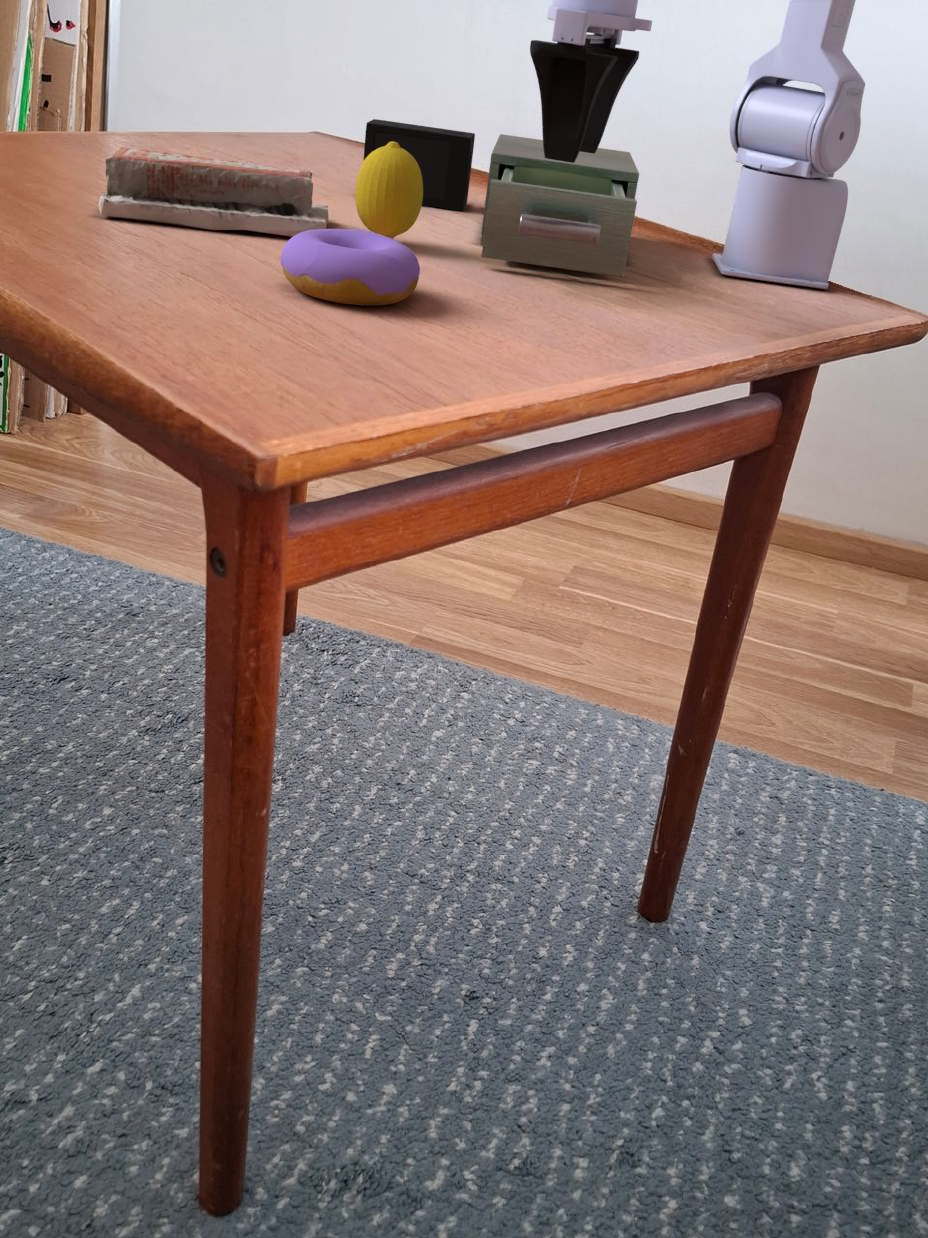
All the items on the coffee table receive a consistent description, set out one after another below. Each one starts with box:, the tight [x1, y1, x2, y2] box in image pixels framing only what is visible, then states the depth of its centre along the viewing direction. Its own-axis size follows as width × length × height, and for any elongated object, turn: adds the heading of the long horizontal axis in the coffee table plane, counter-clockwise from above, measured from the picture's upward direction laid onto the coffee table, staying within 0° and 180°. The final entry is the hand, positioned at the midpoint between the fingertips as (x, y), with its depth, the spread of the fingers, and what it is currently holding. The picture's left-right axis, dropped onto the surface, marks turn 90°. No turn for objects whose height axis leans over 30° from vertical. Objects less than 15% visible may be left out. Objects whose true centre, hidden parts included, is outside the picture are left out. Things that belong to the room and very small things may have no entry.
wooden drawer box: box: [479, 133, 640, 246], centre depth 109 cm, size 16×13×8 cm
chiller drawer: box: [480, 165, 638, 278], centre depth 98 cm, size 19×11×6 cm, turn 176°
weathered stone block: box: [97, 146, 329, 238], centre depth 99 cm, size 18×5×10 cm
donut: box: [280, 228, 421, 306], centre depth 82 cm, size 10×9×5 cm
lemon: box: [354, 142, 423, 239], centre depth 98 cm, size 6×6×8 cm
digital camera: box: [363, 118, 476, 212], centre depth 119 cm, size 10×5×7 cm, turn 84°
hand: (570, 155), depth 85 cm, fingers open, 7 cm apart
